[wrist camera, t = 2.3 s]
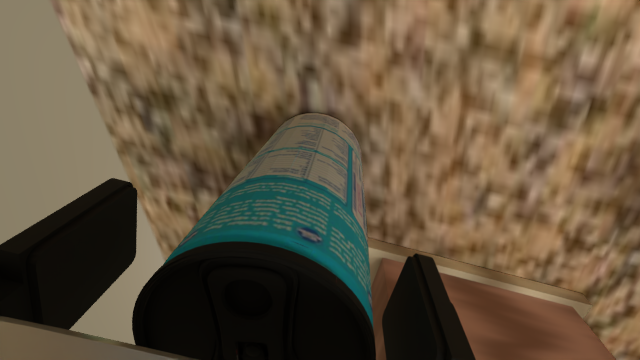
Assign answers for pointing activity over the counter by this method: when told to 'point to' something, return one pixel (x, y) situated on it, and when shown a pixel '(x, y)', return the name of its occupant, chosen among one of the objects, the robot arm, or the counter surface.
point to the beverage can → (272, 259)
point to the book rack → (495, 310)
